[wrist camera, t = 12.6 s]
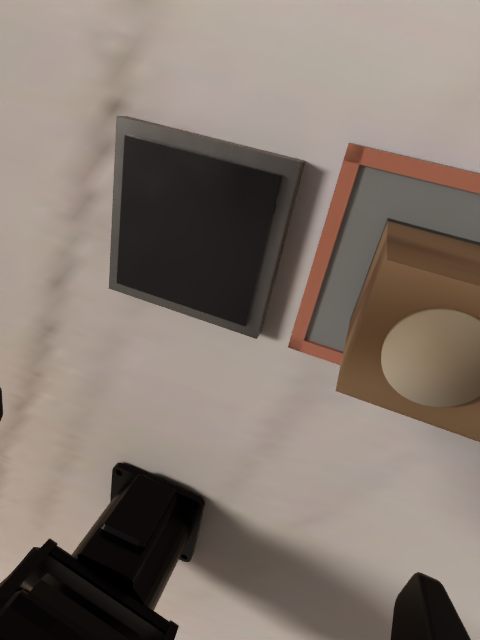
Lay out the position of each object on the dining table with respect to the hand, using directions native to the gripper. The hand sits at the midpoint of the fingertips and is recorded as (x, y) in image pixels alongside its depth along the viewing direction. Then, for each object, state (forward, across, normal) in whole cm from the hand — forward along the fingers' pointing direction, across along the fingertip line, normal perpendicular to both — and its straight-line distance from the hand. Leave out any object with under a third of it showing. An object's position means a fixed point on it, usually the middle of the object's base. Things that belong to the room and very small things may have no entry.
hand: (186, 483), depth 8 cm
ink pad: (+12, +5, -1) cm, 13 cm away
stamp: (+12, -5, -2) cm, 13 cm away
